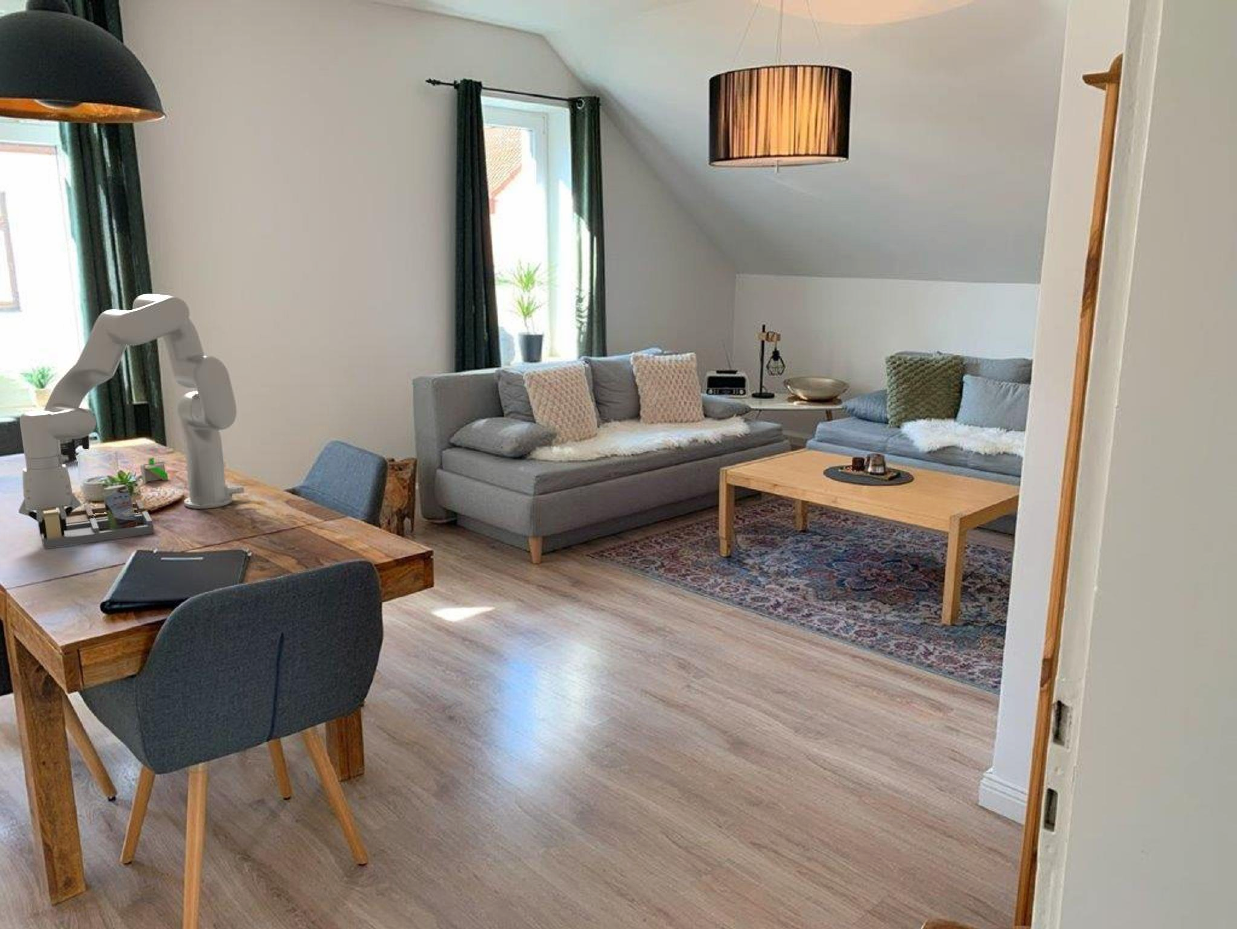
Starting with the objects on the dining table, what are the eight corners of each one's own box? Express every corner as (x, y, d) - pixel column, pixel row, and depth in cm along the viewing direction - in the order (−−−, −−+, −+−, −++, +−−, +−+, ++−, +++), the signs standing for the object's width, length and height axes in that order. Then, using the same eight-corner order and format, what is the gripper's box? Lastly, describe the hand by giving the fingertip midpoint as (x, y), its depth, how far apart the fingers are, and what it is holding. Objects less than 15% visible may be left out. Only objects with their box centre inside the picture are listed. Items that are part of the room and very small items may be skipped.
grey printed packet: (126, 536, 238) (121, 489, 235) (100, 533, 239) (95, 488, 236) (143, 528, 244) (138, 483, 241) (118, 526, 245) (112, 481, 242)
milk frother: (53, 464, 307) (47, 420, 304) (28, 458, 316) (22, 414, 312) (96, 456, 319) (91, 413, 315) (72, 450, 327) (66, 408, 324)
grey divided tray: (147, 520, 250) (144, 495, 248) (154, 533, 240) (151, 506, 238) (41, 535, 237) (38, 508, 235) (44, 548, 227) (40, 521, 226)
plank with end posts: (140, 508, 260) (137, 484, 259) (146, 520, 250) (143, 494, 249) (38, 522, 248) (35, 496, 246) (41, 534, 238) (37, 507, 236)
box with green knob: (170, 481, 290) (168, 456, 288) (147, 485, 285) (144, 460, 283) (165, 479, 293) (162, 454, 291) (142, 483, 288) (139, 457, 286)
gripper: (81, 455, 236) (90, 525, 241) (3, 463, 227) (14, 536, 232) (83, 461, 230) (93, 533, 234) (4, 469, 221) (15, 544, 226)
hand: (53, 534), depth 233 cm, fingers closed on grey divided tray, 3 cm apart
